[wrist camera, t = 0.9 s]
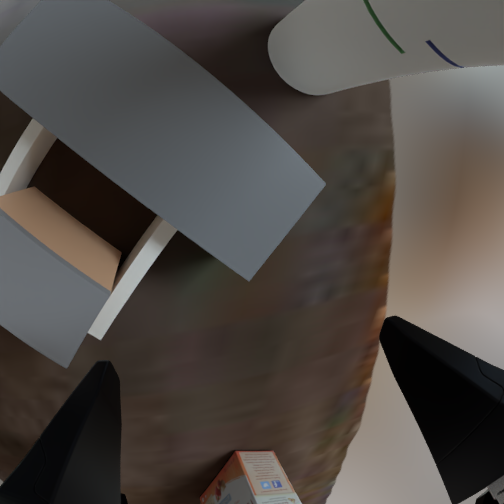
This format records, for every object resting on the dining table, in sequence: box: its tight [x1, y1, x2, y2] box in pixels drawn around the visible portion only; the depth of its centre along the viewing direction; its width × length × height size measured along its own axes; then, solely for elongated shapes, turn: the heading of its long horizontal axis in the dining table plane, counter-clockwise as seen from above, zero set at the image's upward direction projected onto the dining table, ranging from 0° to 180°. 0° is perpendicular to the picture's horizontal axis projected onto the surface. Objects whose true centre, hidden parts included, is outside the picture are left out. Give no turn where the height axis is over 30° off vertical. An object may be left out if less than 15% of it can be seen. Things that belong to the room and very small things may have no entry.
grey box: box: [0, 186, 122, 369], centre depth 14 cm, size 6×8×7 cm
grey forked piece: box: [0, 0, 326, 340], centre depth 15 cm, size 16×20×5 cm
